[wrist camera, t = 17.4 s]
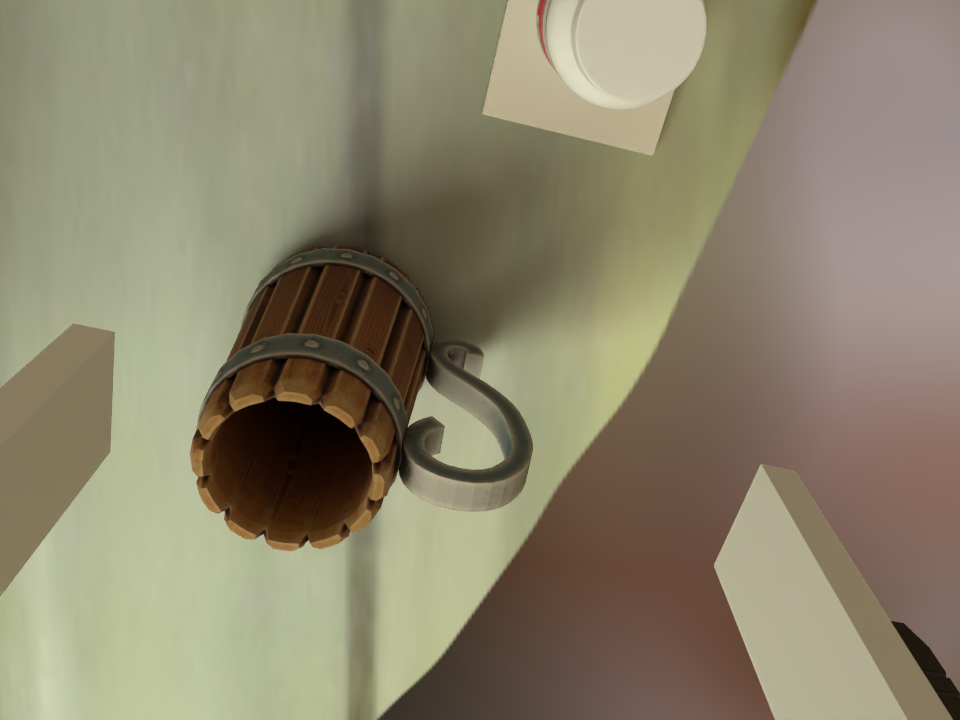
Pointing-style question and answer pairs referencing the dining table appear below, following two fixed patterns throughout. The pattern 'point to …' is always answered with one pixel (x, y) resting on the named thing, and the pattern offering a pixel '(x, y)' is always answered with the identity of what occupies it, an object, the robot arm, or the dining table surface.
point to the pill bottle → (622, 46)
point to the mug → (342, 406)
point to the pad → (558, 92)
